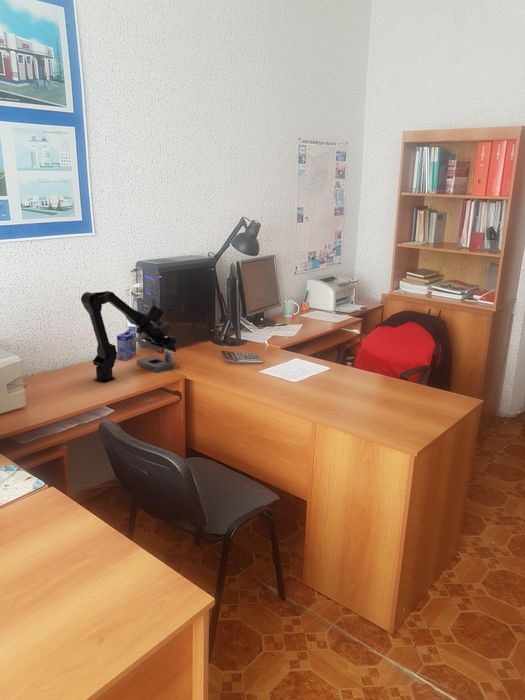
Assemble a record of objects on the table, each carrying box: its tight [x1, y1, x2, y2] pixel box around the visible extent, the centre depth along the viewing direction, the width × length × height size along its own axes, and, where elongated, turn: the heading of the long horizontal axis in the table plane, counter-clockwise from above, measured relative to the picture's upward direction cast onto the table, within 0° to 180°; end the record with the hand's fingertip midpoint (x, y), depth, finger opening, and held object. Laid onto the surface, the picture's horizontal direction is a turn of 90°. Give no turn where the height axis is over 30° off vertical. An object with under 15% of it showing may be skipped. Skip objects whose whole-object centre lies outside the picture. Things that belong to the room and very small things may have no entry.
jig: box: [136, 355, 175, 374], centre depth 263 cm, size 10×16×2 cm, turn 46°
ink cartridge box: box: [116, 328, 137, 361], centre depth 275 cm, size 10×6×14 cm, turn 163°
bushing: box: [163, 335, 174, 363], centre depth 267 cm, size 4×4×13 cm
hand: (170, 349), depth 268 cm, fingers open, 7 cm apart
